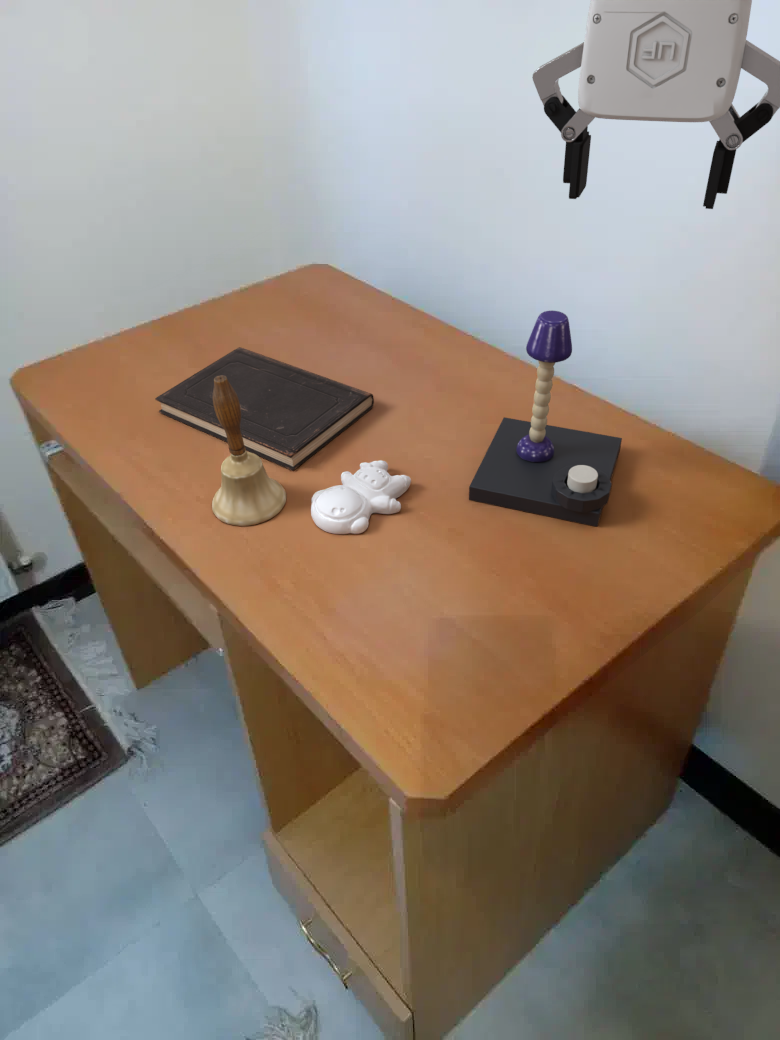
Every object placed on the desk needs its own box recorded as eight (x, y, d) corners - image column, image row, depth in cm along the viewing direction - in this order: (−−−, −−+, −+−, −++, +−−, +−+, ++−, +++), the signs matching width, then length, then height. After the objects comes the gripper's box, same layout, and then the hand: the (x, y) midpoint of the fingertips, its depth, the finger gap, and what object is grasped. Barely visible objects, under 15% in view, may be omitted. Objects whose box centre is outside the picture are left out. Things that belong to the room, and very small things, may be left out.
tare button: (598, 479, 83) (600, 467, 82) (593, 496, 81) (595, 485, 80) (570, 474, 84) (571, 462, 83) (564, 490, 82) (565, 479, 81)
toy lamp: (537, 434, 92) (550, 300, 81) (568, 452, 89) (585, 316, 78) (508, 451, 90) (517, 316, 79) (539, 469, 87) (553, 332, 76)
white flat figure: (427, 497, 87) (426, 476, 85) (339, 546, 82) (336, 525, 80) (378, 461, 93) (377, 440, 91) (293, 505, 87) (289, 484, 85)
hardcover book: (293, 471, 92) (290, 455, 90) (159, 413, 102) (155, 397, 101) (374, 406, 101) (373, 391, 100) (244, 359, 112) (241, 344, 110)
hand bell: (249, 536, 84) (221, 409, 73) (196, 508, 88) (162, 384, 77) (301, 495, 89) (282, 370, 78) (249, 470, 92) (224, 348, 82)
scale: (623, 451, 92) (628, 426, 90) (600, 530, 82) (605, 505, 80) (502, 429, 96) (504, 405, 94) (467, 502, 86) (468, 477, 84)
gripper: (528, -79, 48) (515, 206, 59) (842, -92, 43) (763, 225, 54) (556, -90, 53) (539, 174, 64) (840, -103, 48) (768, 189, 59)
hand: (641, 197), depth 59 cm, fingers open, 9 cm apart
